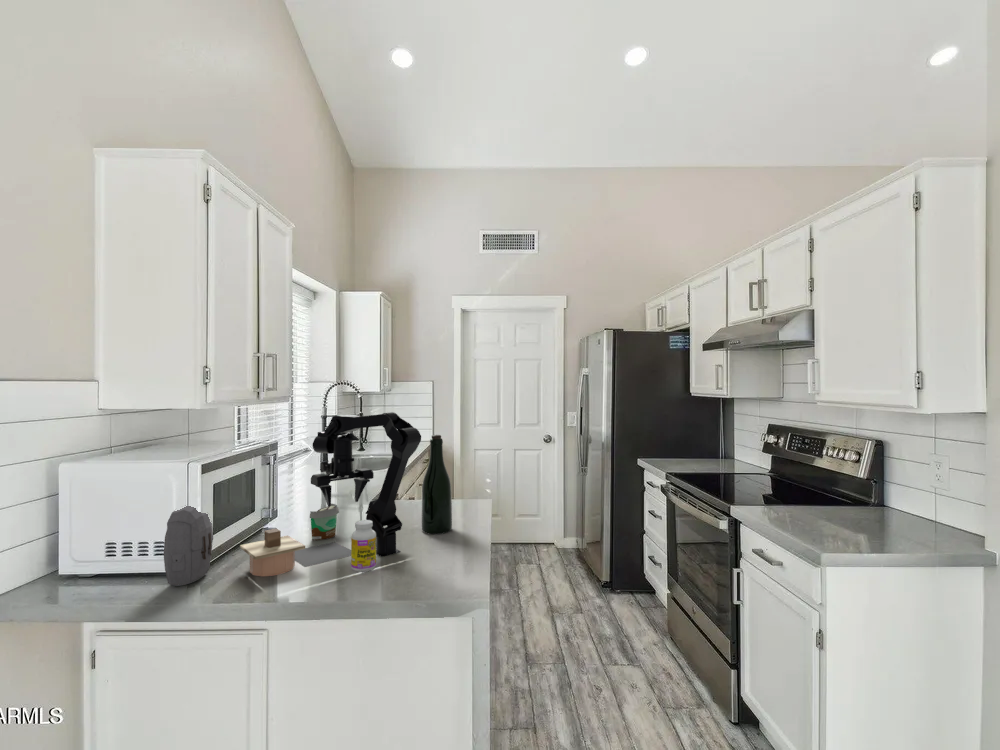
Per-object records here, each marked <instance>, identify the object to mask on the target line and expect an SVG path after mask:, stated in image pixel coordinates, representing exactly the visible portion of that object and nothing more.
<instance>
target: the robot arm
mask: <svg viewBox="0 0 1000 750" xmlns="http://www.w3.org/2000/svg"><path fill="white" fill-rule="evenodd" d="M373 427H375V428H376V427H382V428H383V429H384V431H385V433H386V436H387V438H389V440H390V441H391V442H390V448H391V449H390V450H391V454H392V455H391V459H390V461H389V464H388V468H387V471H386V474H385V477H384V479H383V483H382V486H381V489H380V492H379V494H378V497H377V499H373V500H371V501H369V503H368V507H367V510H366V512H365V515H366V517H365V520H371V521H372V522H373V526H372V530H374V531H375V532H376V556H379V557H383V558H384V557H388V556H391V555H396V554H399V553H401V550H399V549H397V532H398V531H401V529H402V527H403V522H402V521H401V520H400V518H399V517H398V515H397V514H396V512H397V505H396V498H397V495H398V492H399V488H400V486H401V483H402V480H403V478H404V477H403V476H404V474H405V471H406V467H407V464H408V462H409V460H410V458H411V456H413V454H414V453H415V452H416V450H417V449H418V447H419V445H420V443H421V441H422V435H421V432H420V430H419V429H417V428H416V427H414V426H413V425H412V424H411V423H410V422H408V421H406V420H404V419H403V418H401V417H400V416H399V415H398V414H397V413H396V412H393V411H391V412H390V411H389V412H383V413H381V414H380V413H379V414H372V415H371V414H370V415H361V416H360V415H357V414H338V415H332V416H331V419H330V422H329V423H328V425H327V428H326V429H325V431H318V432H317V436H315V438H314V439H313V441H312V449H313V451H314V452H315V453H320V454H328V455H329V454H330V455H333V457H331V459H330V460H331V461H330V462H328V461H327V460H326V461H321V462H320V464H319V469H320V473H315V474H312V475H311V478H310V484H311V485H313V486H315V487H316V488H319V489H320V491H321V492H322V495H323V497H324V500H325V502H326V505H327V506H328V507H330V506H331V504H332V485H330V484H331V482H335V481H336V482H337V481H342V480H351V479H353V481H354V484H355V485H354V486H355V487H354V501H355V503H358V502H359V499H360V498H361V496H362V493H363V491H364V489H365V487H366V485H367V483H369V482H370V481H371V479H374V478H375V476H374V474H375V473H374V471H373V470H372V469H371V468H366V467H362V468H355V470H353V462H355V457H353V442H354V441H357V440H358V437H357V436H356V435H355V434H354V433H353V432H355V431H358V430H360V429H362V428H363V429H364V428H373Z"/></svg>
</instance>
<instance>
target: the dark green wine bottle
mask: <svg viewBox="0 0 1000 750" xmlns="http://www.w3.org/2000/svg"><path fill="white" fill-rule="evenodd" d="M443 444H444V441H443V438H442V435H441V434H433V435H431V438H430V440H429V445H430V451H429V461H428V465H427V469H426V471H425V474H424V475H423V476H424V477H423V479H422V486H421V487H422V488H421V531H422V532H423V533H424V534H428V533H429V535H441V534H442V533H443V534H446V532H447V533H449V532H450V531H452V529H453V503H452V502H453V501H452V499H453V498H452V485H451V483H452V482H451V479H450V475H449V472H448V471H447V468H446V465H445V461H444V451H443V450H444V449H443V447H444V446H443Z"/></svg>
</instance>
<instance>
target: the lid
mask: <svg viewBox="0 0 1000 750" xmlns="http://www.w3.org/2000/svg"><path fill="white" fill-rule="evenodd" d="M281 533H282V532H281V530H280V529H278V528H273V529H268V530H264V540H258V541H253V542H250V543H249V542H248V543H244V544H240V545H239V548H240V550H242V551H243V552H245V553H246V554H247V555H248V556H249V557H250V556H251V557H252V558H254V559H255V560H257V559H261V558H266V557H270V556H275V555H279V554H284V553H288V552H293V551H297V550H302V549H305V548H306V545H305V544H303V543H302V542H299V540H296V539H294V538H293V537H291V536H289V535H283V536H281Z"/></svg>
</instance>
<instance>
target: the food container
mask: <svg viewBox="0 0 1000 750" xmlns="http://www.w3.org/2000/svg"><path fill="white" fill-rule="evenodd" d="M339 513H340V510H339V507H338V505H337V504H336V503H331V506H330V507H328V505H327V506H326V507H322V508H319V509H318V510H316V511H310V513H309V519H310V531H311V540H312V541H322V540H323V541H324V540H328V539H332V538H334V537H335V536H336V533H337V520H338V519H337V518H338V514H339Z"/></svg>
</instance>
